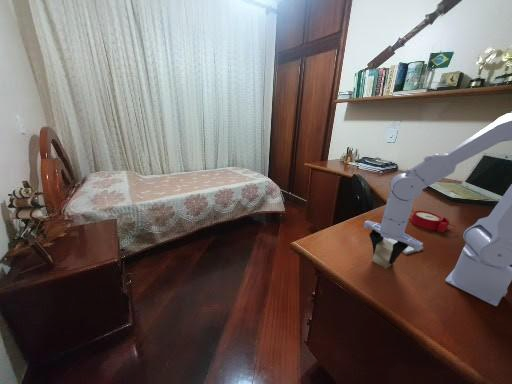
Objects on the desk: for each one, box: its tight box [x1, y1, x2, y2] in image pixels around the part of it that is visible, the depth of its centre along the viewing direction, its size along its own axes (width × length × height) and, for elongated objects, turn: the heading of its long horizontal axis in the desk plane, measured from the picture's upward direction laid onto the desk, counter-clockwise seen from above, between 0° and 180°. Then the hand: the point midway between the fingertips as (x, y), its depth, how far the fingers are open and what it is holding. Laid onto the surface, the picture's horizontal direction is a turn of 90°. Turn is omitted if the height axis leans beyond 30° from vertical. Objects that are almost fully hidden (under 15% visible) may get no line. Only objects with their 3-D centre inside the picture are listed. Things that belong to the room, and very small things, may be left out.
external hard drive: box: [383, 238, 424, 255], centre depth 72 cm, size 2×8×12 cm
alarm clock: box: [408, 210, 458, 233], centre depth 84 cm, size 10×6×15 cm
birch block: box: [372, 240, 393, 269], centre depth 61 cm, size 4×4×6 cm
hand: (383, 258), depth 61 cm, fingers closed on birch block, 4 cm apart
